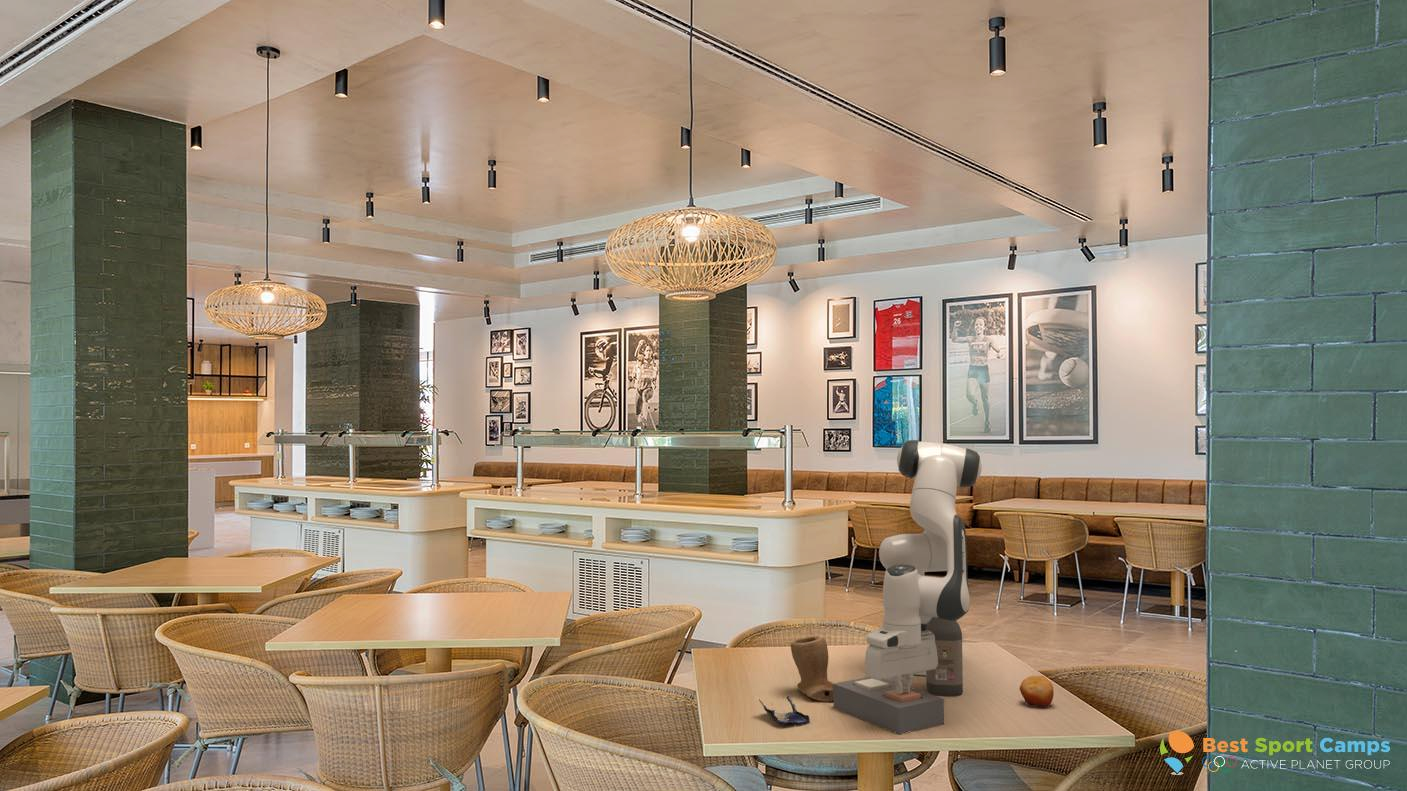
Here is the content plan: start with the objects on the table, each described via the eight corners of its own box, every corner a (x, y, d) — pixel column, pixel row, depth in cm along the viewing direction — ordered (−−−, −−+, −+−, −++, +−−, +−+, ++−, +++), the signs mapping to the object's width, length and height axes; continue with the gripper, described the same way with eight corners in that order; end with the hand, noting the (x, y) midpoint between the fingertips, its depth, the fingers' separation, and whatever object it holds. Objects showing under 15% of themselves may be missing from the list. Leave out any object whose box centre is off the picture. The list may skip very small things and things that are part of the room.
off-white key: (854, 694, 236) (854, 681, 236) (873, 691, 239) (873, 678, 239) (870, 700, 231) (870, 687, 231) (889, 696, 234) (889, 683, 234)
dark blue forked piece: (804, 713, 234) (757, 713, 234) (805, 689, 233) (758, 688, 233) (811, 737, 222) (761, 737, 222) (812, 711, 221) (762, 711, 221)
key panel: (833, 707, 237) (833, 683, 237) (876, 699, 244) (876, 675, 244) (899, 734, 217) (899, 708, 217) (944, 724, 224) (943, 698, 224)
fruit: (1058, 695, 242) (1054, 671, 238) (1053, 718, 236) (1049, 695, 232) (1025, 690, 246) (1021, 667, 242) (1020, 713, 240) (1015, 690, 236)
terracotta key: (884, 705, 227) (884, 691, 227) (903, 701, 230) (903, 688, 230) (901, 711, 222) (901, 698, 222) (920, 707, 225) (920, 694, 225)
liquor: (963, 697, 246) (961, 580, 247) (927, 695, 247) (925, 579, 248) (961, 687, 255) (959, 575, 255) (926, 685, 256) (924, 574, 257)
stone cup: (786, 689, 254) (785, 632, 255) (828, 686, 257) (828, 630, 257) (802, 705, 240) (801, 645, 240) (847, 702, 242) (846, 643, 242)
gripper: (924, 626, 234) (925, 683, 234) (860, 637, 224) (861, 696, 223) (943, 631, 229) (944, 689, 228) (878, 642, 218) (879, 702, 218)
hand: (902, 692), depth 226 cm, fingers closed, pressing on terracotta key
